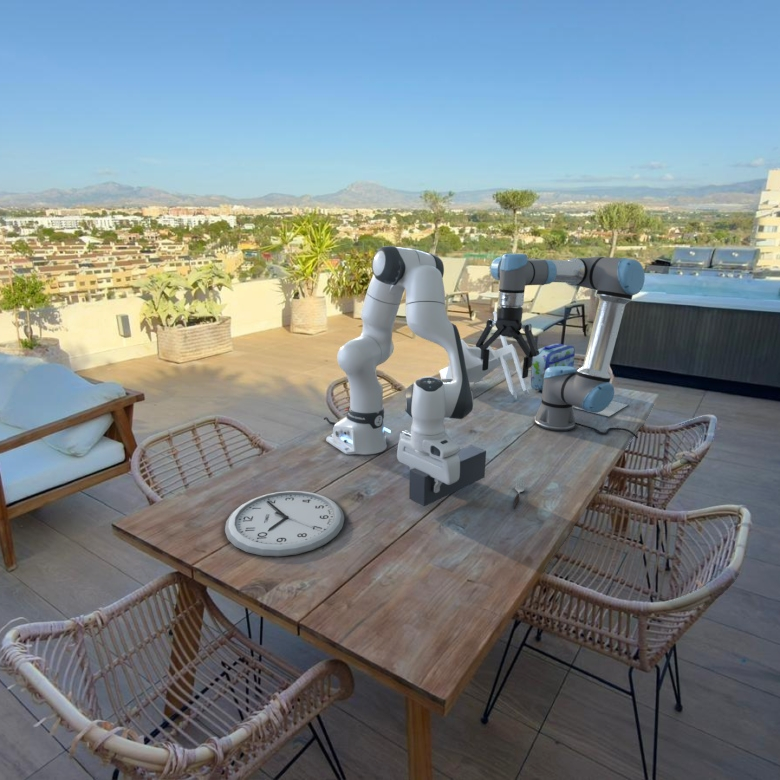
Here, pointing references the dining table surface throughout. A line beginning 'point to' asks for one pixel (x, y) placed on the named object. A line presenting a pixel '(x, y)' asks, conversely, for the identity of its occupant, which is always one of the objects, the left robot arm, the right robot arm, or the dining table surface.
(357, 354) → the left robot arm
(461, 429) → the dining table surface
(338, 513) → the wall clock
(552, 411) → the right robot arm
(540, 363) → the lunch box
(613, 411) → the invitation card
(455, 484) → the bar
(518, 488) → the fork
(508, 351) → the white plastic object
